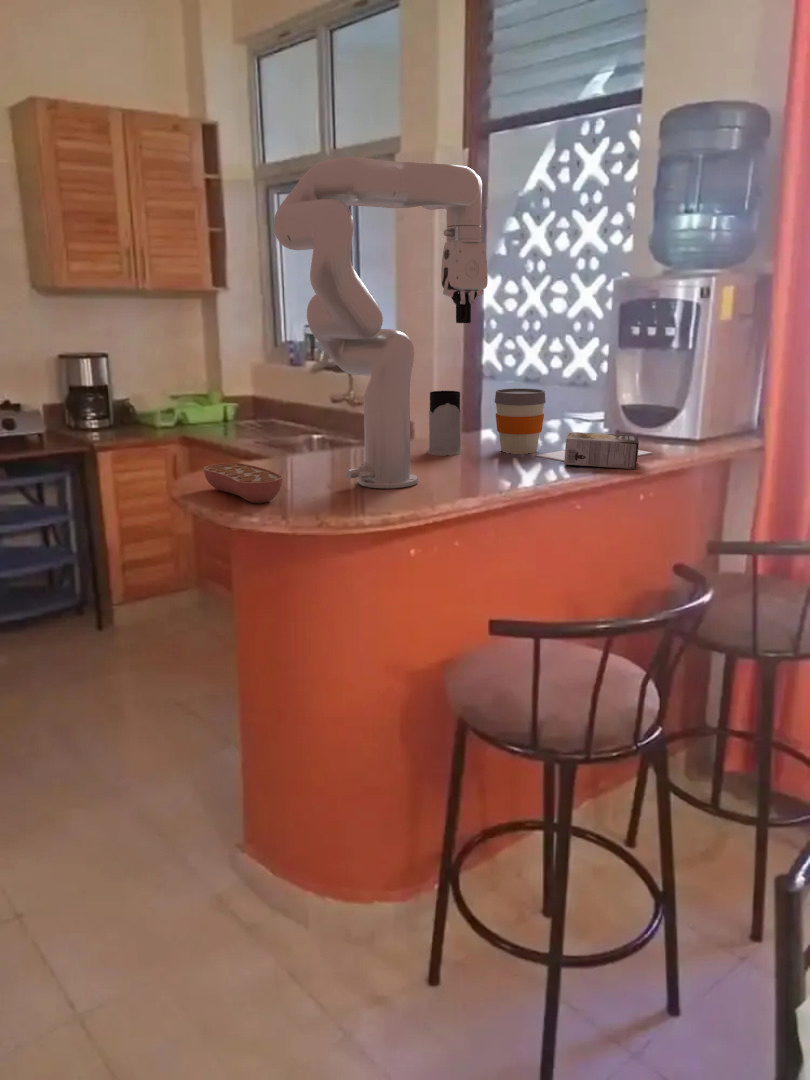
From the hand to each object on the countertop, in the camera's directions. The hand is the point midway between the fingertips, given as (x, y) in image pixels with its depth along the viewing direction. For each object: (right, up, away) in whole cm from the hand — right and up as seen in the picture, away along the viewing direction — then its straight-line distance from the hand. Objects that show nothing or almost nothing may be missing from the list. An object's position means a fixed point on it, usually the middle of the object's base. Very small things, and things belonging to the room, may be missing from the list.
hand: (463, 322), depth 194 cm
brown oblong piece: (-45, -40, -19) cm, 63 cm away
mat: (+33, -28, +19) cm, 47 cm away
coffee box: (+24, -27, +8) cm, 37 cm away
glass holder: (-3, -26, +28) cm, 38 cm away
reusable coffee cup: (+16, -26, +26) cm, 40 cm away
